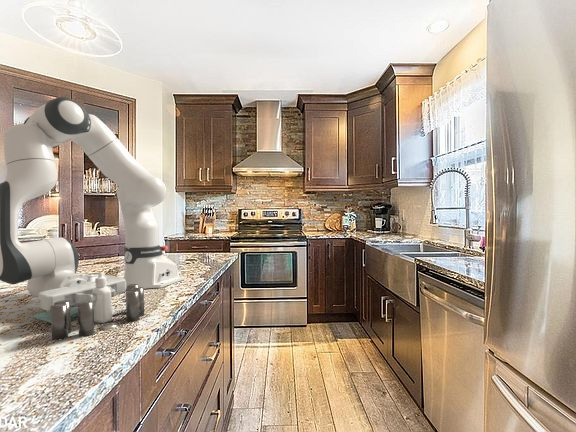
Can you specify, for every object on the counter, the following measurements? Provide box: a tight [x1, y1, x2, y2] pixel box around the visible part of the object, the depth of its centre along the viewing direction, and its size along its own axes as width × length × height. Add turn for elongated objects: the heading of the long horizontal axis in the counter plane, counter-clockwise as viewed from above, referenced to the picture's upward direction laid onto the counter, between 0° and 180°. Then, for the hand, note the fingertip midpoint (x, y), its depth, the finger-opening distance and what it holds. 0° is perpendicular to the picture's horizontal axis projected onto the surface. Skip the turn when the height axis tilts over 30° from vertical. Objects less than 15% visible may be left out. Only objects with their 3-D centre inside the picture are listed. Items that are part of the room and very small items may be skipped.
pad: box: [33, 307, 78, 324], centre depth 90 cm, size 9×9×1 cm
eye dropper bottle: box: [92, 271, 113, 324], centre depth 85 cm, size 4×6×12 cm
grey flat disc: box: [100, 322, 119, 331], centre depth 80 cm, size 4×4×1 cm
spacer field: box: [50, 284, 145, 341], centre depth 82 cm, size 23×10×7 cm, turn 151°
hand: (103, 296), depth 84 cm, fingers closed on eye dropper bottle, 3 cm apart
